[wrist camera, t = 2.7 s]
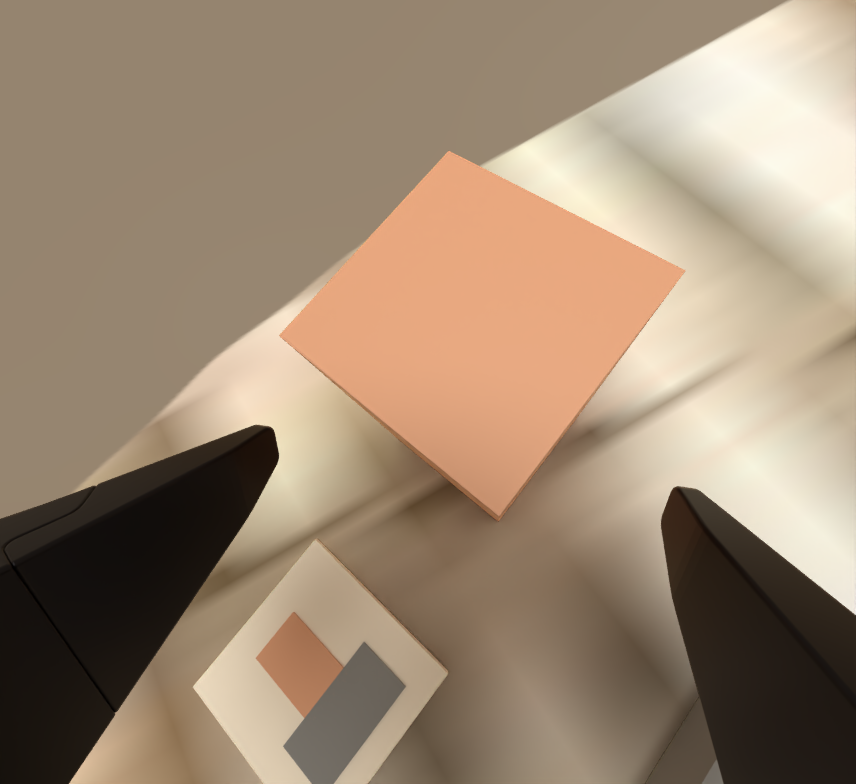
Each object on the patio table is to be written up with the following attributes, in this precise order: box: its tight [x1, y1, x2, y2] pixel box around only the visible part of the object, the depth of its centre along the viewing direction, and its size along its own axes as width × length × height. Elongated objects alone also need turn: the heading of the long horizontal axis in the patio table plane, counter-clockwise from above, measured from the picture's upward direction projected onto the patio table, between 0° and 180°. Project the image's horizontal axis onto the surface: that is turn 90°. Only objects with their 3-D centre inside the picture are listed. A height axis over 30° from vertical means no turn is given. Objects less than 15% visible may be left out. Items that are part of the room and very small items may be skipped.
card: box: [193, 539, 449, 784], centre depth 18 cm, size 8×8×1 cm
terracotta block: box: [279, 151, 685, 521], centre depth 14 cm, size 6×6×12 cm
